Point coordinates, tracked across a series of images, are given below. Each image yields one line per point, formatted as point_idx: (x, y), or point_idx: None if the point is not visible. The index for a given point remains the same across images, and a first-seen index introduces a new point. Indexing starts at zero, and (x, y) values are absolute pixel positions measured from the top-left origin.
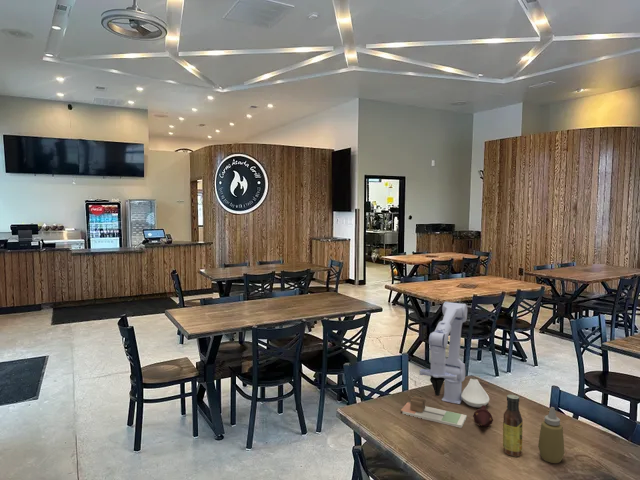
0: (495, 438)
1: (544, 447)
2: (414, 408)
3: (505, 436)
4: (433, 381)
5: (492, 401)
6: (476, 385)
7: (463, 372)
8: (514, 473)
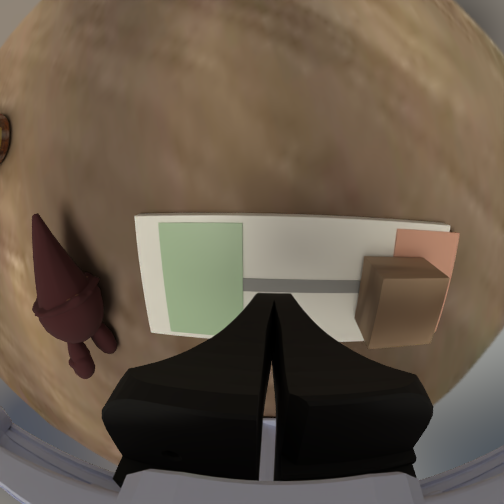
0: (33, 200)
1: None
2: (408, 261)
3: None
4: (344, 382)
5: None
6: None
7: None
8: (4, 44)
